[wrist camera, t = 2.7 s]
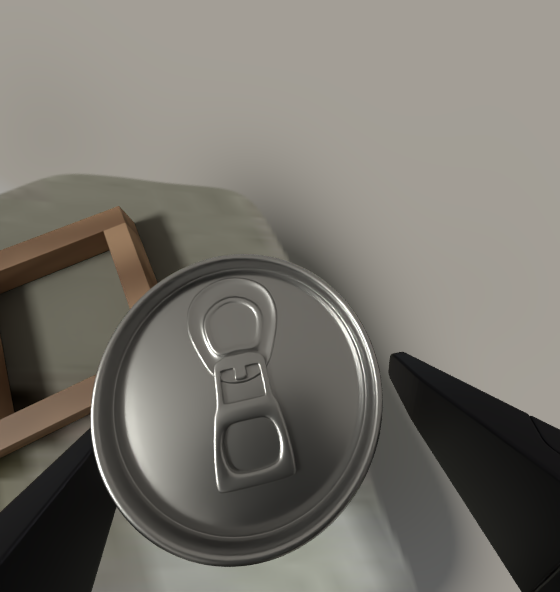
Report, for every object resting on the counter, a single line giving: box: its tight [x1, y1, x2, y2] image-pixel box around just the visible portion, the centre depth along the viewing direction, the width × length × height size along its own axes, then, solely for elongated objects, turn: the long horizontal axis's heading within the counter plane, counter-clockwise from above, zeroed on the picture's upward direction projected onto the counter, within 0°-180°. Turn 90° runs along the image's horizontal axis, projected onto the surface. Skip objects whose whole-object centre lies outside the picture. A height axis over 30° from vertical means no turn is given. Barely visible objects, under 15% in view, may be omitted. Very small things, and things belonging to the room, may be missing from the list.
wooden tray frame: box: [0, 206, 157, 458], centre depth 16 cm, size 12×18×2 cm, turn 117°
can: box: [90, 254, 383, 567], centre depth 11 cm, size 6×6×12 cm
